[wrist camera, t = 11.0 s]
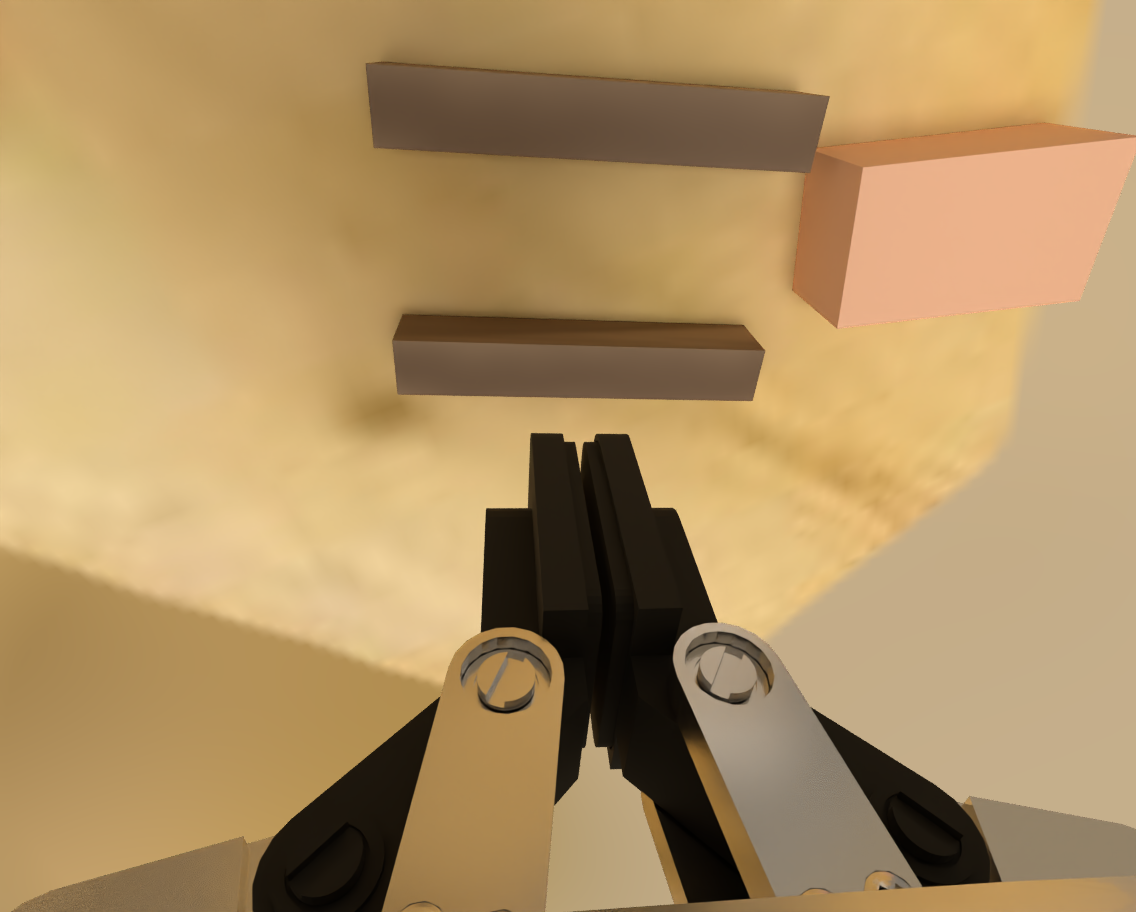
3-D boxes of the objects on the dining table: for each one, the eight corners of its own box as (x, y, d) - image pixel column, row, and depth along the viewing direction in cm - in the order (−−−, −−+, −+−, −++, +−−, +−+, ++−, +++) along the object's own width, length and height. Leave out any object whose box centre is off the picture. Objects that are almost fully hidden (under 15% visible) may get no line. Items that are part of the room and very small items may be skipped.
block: (806, 148, 26) (863, 167, 22) (1041, 122, 26) (1142, 136, 22) (790, 288, 29) (837, 328, 25) (999, 265, 29) (1079, 300, 25)
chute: (381, 61, 23) (365, 63, 20) (796, 91, 25) (829, 96, 22) (406, 365, 30) (397, 394, 27) (732, 372, 31) (752, 400, 29)
